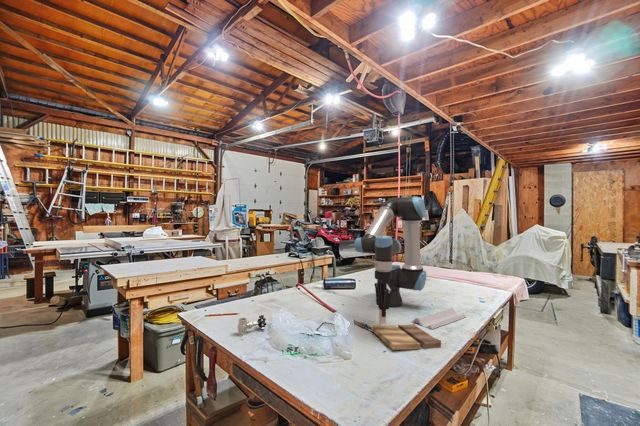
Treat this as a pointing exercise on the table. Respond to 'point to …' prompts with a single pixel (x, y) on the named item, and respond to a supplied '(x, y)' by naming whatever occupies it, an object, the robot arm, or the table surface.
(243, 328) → the valve
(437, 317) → the crown molding
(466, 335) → the table surface
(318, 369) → the table surface
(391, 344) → the oak plank
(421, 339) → the walnut floor board
